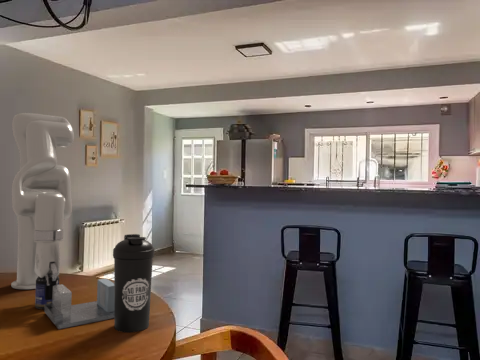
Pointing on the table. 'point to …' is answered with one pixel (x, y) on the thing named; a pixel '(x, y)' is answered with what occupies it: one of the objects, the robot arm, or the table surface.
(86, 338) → the table surface
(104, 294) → the sliding jaw
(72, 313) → the vise base
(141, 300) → the water bottle
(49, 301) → the pill bottle
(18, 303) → the table surface
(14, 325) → the table surface
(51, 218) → the robot arm
